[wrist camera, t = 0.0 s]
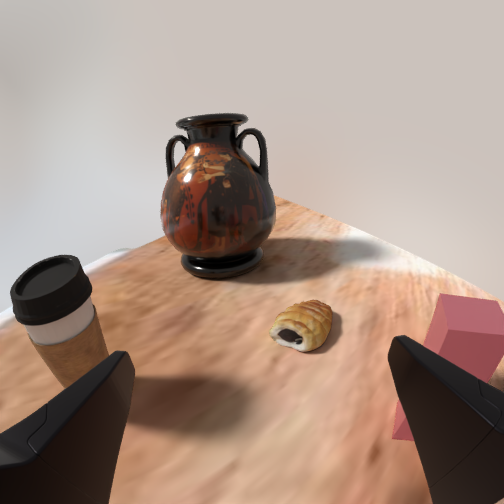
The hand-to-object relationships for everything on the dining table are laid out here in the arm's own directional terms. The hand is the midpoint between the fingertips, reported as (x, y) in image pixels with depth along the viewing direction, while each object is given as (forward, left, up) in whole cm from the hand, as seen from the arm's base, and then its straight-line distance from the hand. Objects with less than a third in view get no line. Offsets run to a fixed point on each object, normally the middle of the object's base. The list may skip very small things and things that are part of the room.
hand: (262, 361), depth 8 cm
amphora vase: (+45, +6, -17) cm, 48 cm away
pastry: (+22, -6, -17) cm, 28 cm away
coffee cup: (+11, +18, -17) cm, 27 cm away
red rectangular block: (+5, -15, -17) cm, 23 cm away
